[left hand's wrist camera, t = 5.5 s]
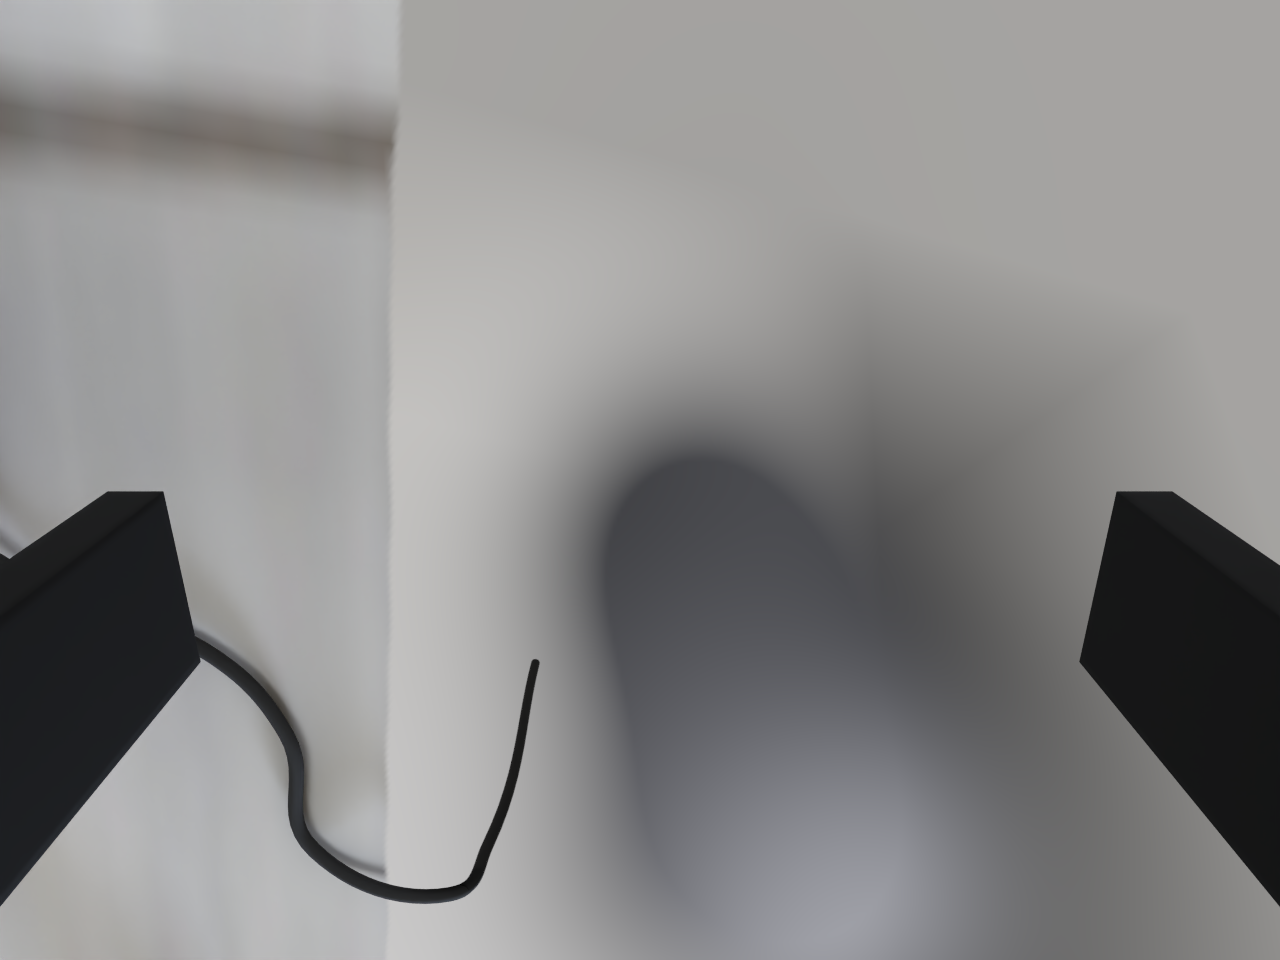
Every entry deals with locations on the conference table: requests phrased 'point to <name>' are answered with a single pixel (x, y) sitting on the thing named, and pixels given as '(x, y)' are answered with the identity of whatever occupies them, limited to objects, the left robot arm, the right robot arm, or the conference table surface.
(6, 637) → the left robot arm
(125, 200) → the conference table surface
